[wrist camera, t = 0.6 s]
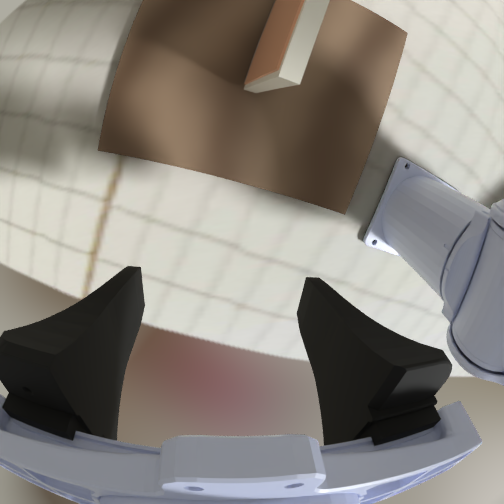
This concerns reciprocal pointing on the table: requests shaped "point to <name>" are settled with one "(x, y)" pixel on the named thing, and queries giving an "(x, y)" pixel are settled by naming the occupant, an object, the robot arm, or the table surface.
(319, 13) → the tile
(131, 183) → the table surface
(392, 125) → the table surface
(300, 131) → the board
